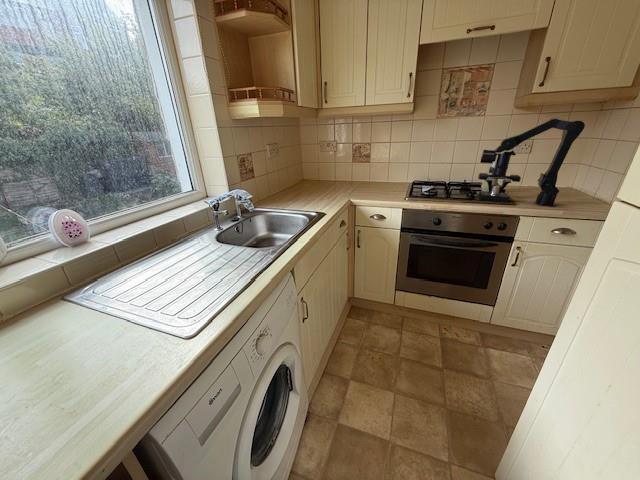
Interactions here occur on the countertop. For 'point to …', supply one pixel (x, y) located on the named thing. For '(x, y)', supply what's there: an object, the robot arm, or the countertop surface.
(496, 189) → the dial
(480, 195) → the control panel
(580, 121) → the robot arm
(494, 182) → the squeeze bottle
